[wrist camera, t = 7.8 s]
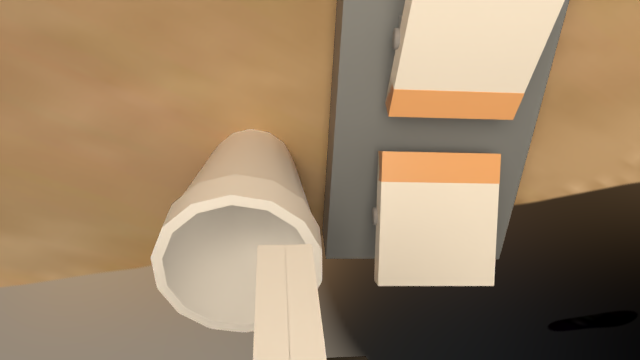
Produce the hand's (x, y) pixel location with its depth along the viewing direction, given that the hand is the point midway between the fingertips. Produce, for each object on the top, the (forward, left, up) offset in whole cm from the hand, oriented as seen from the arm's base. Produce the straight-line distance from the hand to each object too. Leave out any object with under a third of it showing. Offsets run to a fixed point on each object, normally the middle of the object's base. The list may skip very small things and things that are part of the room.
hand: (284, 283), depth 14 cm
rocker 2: (+10, -8, -17) cm, 22 cm away
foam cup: (-2, -8, -24) cm, 25 cm away
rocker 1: (+10, +4, -17) cm, 20 cm away
